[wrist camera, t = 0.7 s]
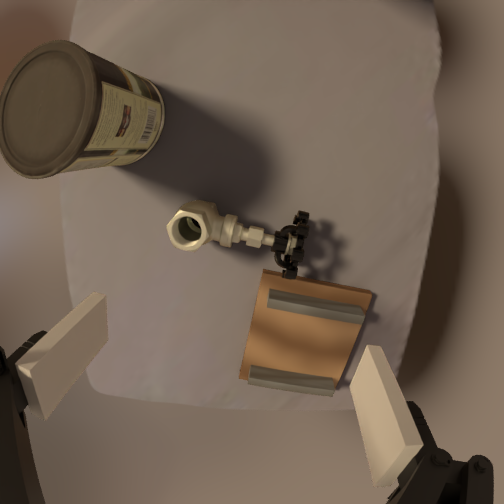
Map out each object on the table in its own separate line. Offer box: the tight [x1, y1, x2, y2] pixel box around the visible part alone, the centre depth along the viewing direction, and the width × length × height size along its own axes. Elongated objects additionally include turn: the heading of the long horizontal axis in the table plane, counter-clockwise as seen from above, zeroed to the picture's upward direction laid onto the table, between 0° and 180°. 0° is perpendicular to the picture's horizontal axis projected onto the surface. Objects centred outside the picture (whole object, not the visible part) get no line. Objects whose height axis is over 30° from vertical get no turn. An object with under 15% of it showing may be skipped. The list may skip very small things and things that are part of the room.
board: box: [239, 269, 372, 397], centre depth 35 cm, size 14×12×4 cm
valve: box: [166, 200, 309, 280], centre depth 30 cm, size 7×7×12 cm
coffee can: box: [0, 40, 165, 179], centre depth 24 cm, size 10×10×14 cm
